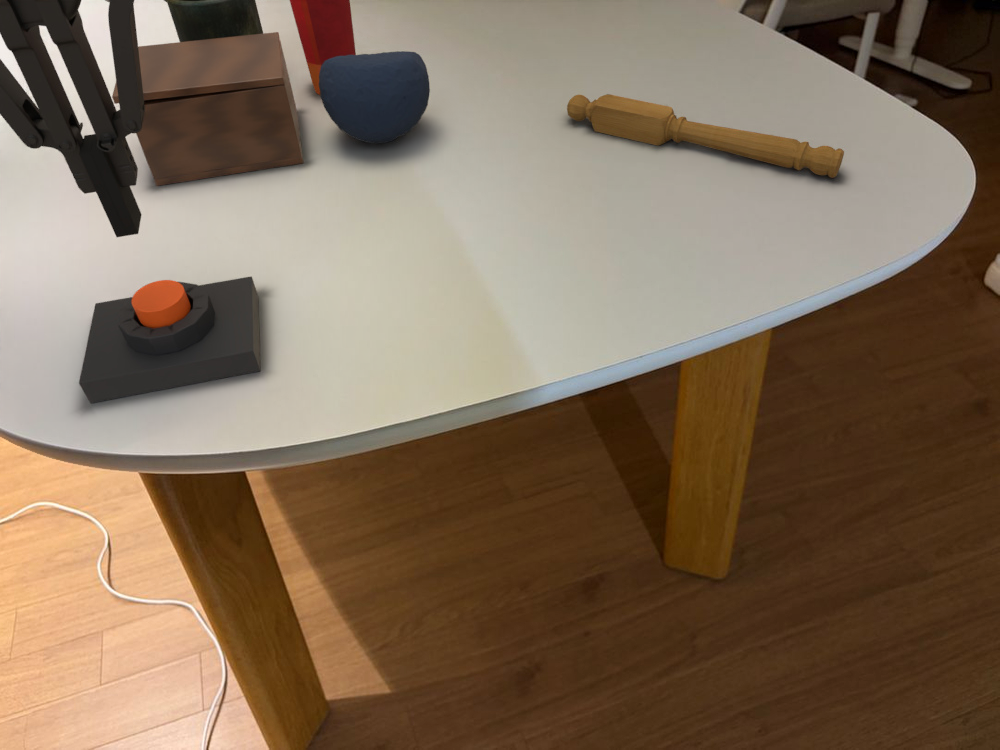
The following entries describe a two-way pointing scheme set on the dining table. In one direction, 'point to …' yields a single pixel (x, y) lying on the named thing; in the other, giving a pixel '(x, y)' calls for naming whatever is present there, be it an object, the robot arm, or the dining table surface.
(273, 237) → the dining table surface
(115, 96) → the box lid
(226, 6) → the mug
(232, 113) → the box
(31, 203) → the dining table surface
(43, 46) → the robot arm
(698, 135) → the wooden table leg
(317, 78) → the red tall block
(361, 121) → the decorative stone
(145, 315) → the button
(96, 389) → the switch block
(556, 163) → the dining table surface
